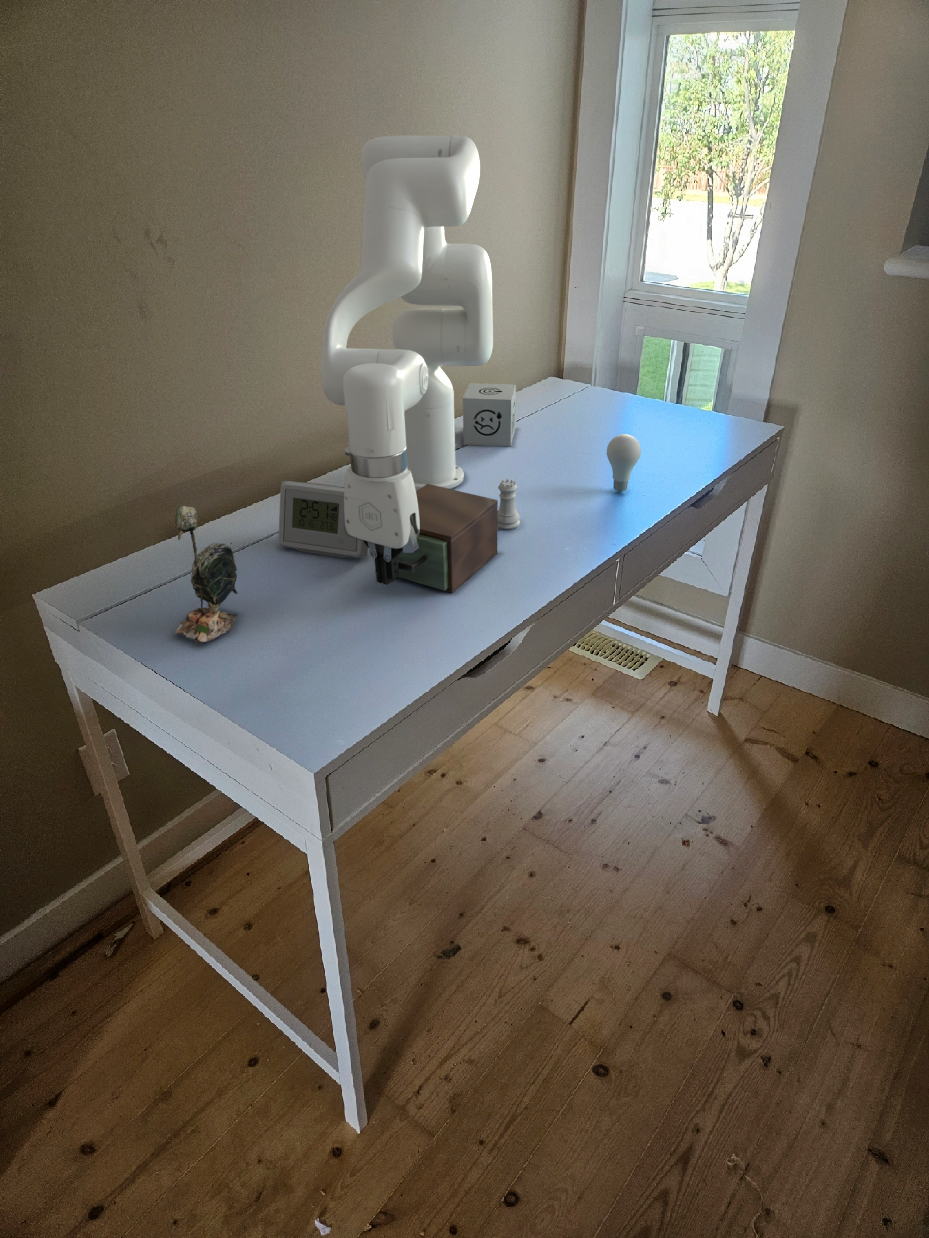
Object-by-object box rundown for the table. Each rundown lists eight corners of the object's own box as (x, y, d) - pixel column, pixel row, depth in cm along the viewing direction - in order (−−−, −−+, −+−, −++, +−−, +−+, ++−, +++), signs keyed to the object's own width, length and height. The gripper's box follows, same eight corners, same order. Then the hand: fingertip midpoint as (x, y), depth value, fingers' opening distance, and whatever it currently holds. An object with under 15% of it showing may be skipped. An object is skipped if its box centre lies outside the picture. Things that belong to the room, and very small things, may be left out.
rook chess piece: (518, 531, 141) (518, 488, 137) (492, 529, 142) (492, 486, 138) (521, 520, 145) (522, 477, 141) (496, 518, 146) (496, 475, 141)
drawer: (429, 604, 121) (426, 557, 116) (363, 583, 126) (358, 538, 121) (487, 554, 133) (487, 510, 129) (425, 537, 138) (423, 494, 134)
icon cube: (515, 429, 182) (515, 384, 176) (510, 446, 174) (511, 399, 168) (470, 427, 183) (469, 383, 178) (463, 444, 175) (462, 398, 169)
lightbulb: (614, 482, 158) (619, 426, 152) (642, 490, 154) (648, 434, 148) (597, 493, 154) (601, 436, 148) (626, 501, 150) (631, 444, 144)
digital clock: (273, 548, 138) (264, 489, 132) (307, 526, 144) (300, 469, 138) (353, 570, 131) (346, 509, 125) (385, 546, 137) (380, 487, 132)
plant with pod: (263, 617, 120) (240, 490, 109) (196, 652, 113) (165, 520, 102) (229, 598, 125) (204, 475, 114) (163, 631, 117) (129, 502, 106)
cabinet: (452, 593, 125) (450, 536, 119) (381, 572, 130) (377, 517, 125) (497, 553, 135) (497, 500, 130) (429, 535, 140) (427, 483, 135)
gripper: (317, 460, 111) (331, 578, 121) (409, 481, 104) (416, 605, 114) (351, 442, 116) (362, 557, 126) (441, 461, 110) (445, 581, 120)
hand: (387, 579), depth 120 cm, fingers closed
